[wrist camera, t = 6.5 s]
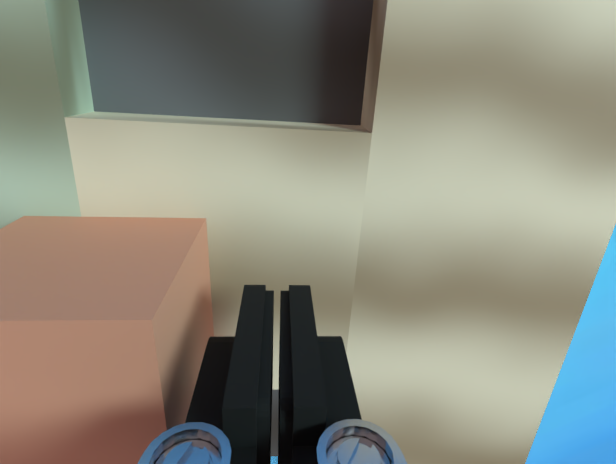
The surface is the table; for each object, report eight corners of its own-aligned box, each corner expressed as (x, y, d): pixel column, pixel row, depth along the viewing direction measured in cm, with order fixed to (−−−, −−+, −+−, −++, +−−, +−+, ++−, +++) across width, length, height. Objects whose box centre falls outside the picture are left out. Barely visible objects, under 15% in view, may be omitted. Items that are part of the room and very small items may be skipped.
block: (24, 215, 11) (-170, 321, 6) (206, 218, 11) (152, 319, 7) (60, 359, 13) (-67, 523, 8) (215, 358, 13) (178, 514, 8)
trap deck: (-292, -154, 9) (-438, -212, 7) (657, -61, 11) (733, -88, 9) (-48, 454, 17) (-89, 502, 15) (491, 446, 18) (515, 488, 17)
